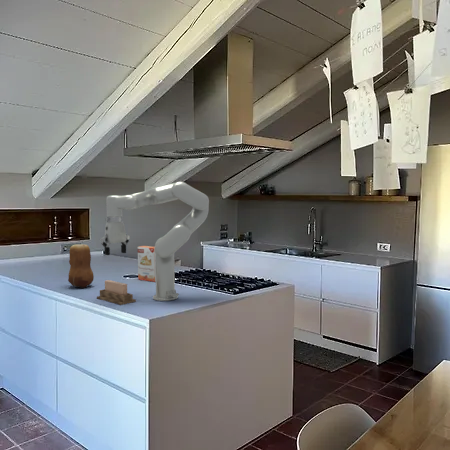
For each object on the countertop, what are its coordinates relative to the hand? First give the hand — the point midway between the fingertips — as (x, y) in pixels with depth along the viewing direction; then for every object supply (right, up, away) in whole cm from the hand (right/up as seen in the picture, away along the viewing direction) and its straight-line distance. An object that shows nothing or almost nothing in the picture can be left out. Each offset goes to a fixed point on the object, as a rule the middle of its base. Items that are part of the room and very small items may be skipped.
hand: (115, 253), depth 232 cm
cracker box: (+8, -20, +53) cm, 57 cm away
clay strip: (0, -22, +1) cm, 22 cm away
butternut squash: (-28, -21, +33) cm, 48 cm away
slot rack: (0, -23, +1) cm, 23 cm away
